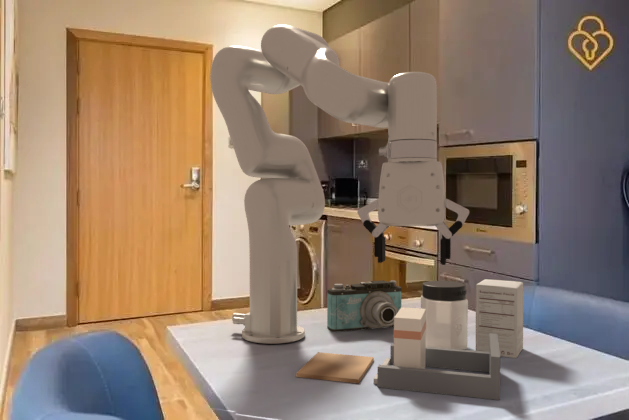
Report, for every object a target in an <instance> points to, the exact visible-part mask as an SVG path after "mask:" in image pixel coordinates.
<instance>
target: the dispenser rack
mask: <svg viewBox="0 0 629 420" xmlns="http://www.w3.org/2000/svg"><path fill="white" fill-rule="evenodd" d="M389 349H390V356H389V357H390V358H389V357H385V358H384V360H383V362H382V363H381V364H378V365H377V372H376V374H375V376H374V377H373V385H376V386H377V388H382V389H383V388H384V389H393V390H401V391H410V392H411V391H413V392H420V393H421V392H422V393H430V394H440V395H449V396H457V397H458V396H459V397H469V398H476V399H484V400H485V399H487V400H498V401H500V400H501V356H500V352H499V344H498V336H497V334H489V352H486V351H476V350H474V349H473V350H472V349H465V350H462V349H450V348H437V347H426V357H425V367H427V368H429V369H427V368H425V369H420V368H410V367H399V366H394V365H391V364H394V343H391V344H390V348H389ZM430 368H438V369H430ZM439 368H440V369H441V368H442V369H452V370H463V371H472V372H473V371H474V373H472V372H461V371H460V372H459V371H451V370H450V371H449V370H439ZM475 372H482V373H475ZM484 372H485V373H488V374H483V373H484Z"/></svg>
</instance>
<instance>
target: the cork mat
mask: <svg viewBox="0 0 629 420" xmlns="http://www.w3.org/2000/svg"><path fill="white" fill-rule="evenodd" d="M374 358H375V357H374V356H363V355H354V354H344V353H343V354H342V353H333V352H332V353H331V352H330V353H329V352H319V351H317V352H316V354H314V356H313V357H311V358H310V360H308V361H307V362H306V363H305V364H304V365H303V366H302V367H301V368H299V370H298V371H297V372H296V373H295V377H296V378H303V379H313V380H322V381H323V380H324V381H332V382H333V381H334V382H341V383H342V382H343V383H351V384H359V383H360V382H361V381H362V379H363V378H364V376H365V374H366V373H367V371H368V370H369V369H370V367H371V365H372V364H373V362H374Z"/></svg>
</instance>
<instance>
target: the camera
mask: <svg viewBox="0 0 629 420" xmlns="http://www.w3.org/2000/svg"><path fill="white" fill-rule="evenodd" d="M326 290H327V291H326V293H327V297H326V298H327V302H326V304H327V305H326V306H327V307H326V308H327V309H326V310H327V319H326V320H327V324H326V325H327V328H326V329H328V331H330V332H336V333H337V332H350V331H351V330H352V331H362V330H361V329H364V330H373V329H372V328H378V329H383V328H382V327H389V328H394V327H393V326H394V317H395V316H396V314H397V313H398V311H399V310H400V309H401V307H402V290H403V289H402V286H400V285H397V281H396V280H389V281H386V280H370V281H366V282H365V281H361V282H360V283H354V284H352V283H351V284H345V285H344V284H343V283H334V284H333V287H331V288H327V289H326ZM352 331H351V332H352Z"/></svg>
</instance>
